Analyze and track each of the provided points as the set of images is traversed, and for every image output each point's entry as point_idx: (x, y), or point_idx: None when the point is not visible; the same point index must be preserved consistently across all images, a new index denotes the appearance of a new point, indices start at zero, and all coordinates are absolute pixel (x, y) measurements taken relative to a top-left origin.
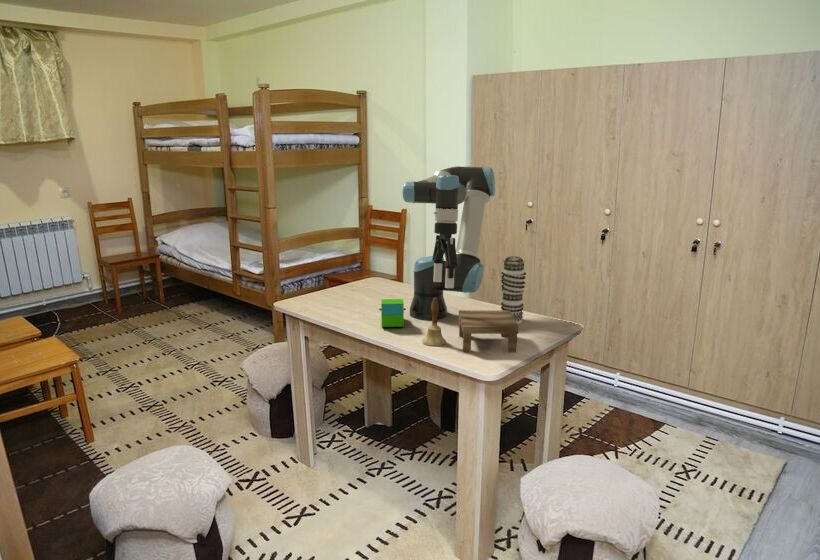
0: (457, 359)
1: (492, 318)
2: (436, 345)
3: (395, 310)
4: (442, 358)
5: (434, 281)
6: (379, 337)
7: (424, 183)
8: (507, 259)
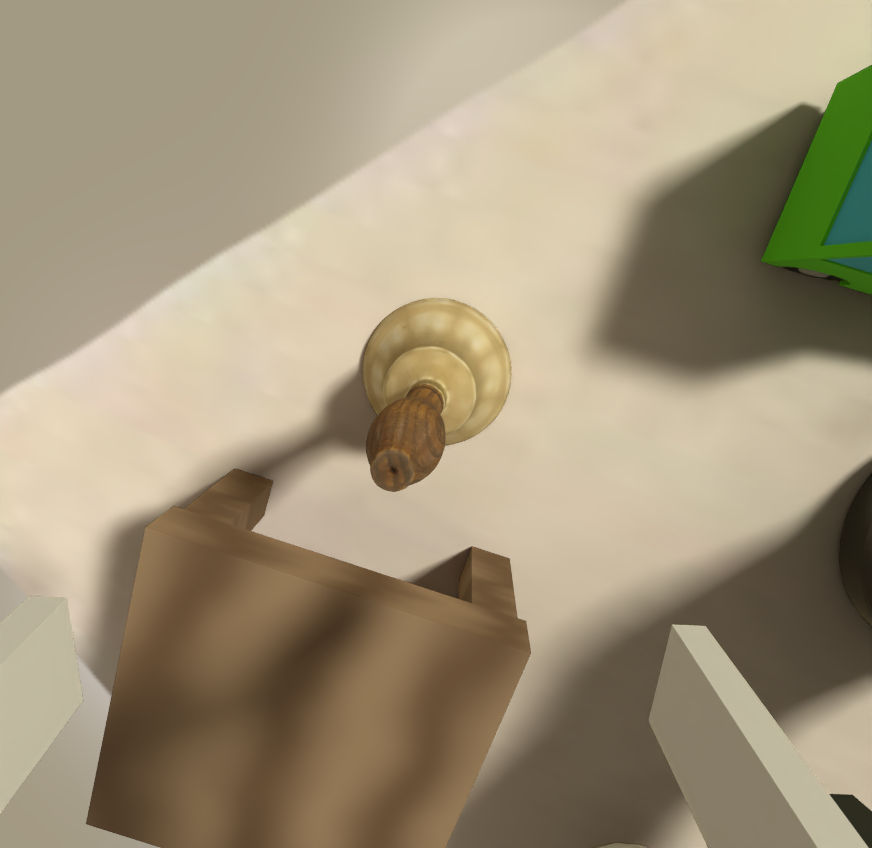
0: (144, 397)
1: (276, 770)
2: (364, 362)
3: None
4: (173, 324)
5: (673, 635)
6: (656, 24)
7: None
8: None
